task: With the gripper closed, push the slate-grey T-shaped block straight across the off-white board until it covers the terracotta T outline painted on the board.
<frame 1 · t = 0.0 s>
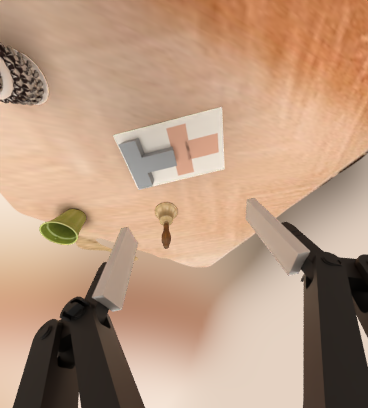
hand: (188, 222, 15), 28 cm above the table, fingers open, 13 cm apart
target board: (174, 153, 37), on the table
plant pot: (76, 215, 46), on the table
T block: (154, 159, 37), resting on target board
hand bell: (166, 211, 48), on the table
decorative candle: (24, 79, 27), on the table
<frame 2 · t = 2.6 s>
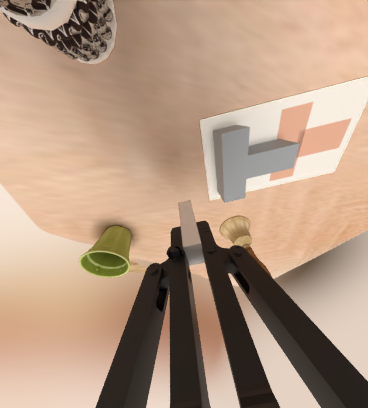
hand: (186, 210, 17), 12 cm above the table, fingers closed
target board: (276, 149, 25), on the table
plant pot: (119, 233, 34), on the table
T block: (246, 157, 25), resting on target board
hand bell: (234, 226, 37), on the table
decorative candle: (76, 11, 15), on the table
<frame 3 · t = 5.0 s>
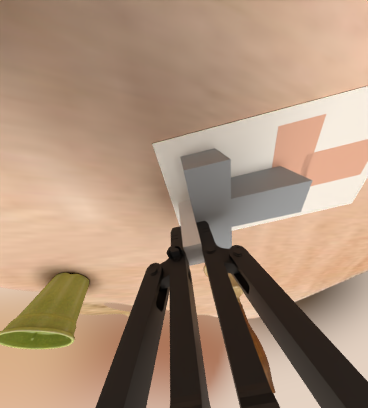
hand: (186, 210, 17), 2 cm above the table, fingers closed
target board: (272, 179, 18), on the table
plant pot: (73, 279, 26), on the table
T block: (233, 190, 18), resting on target board, touching gripper
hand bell: (222, 265, 29), on the table
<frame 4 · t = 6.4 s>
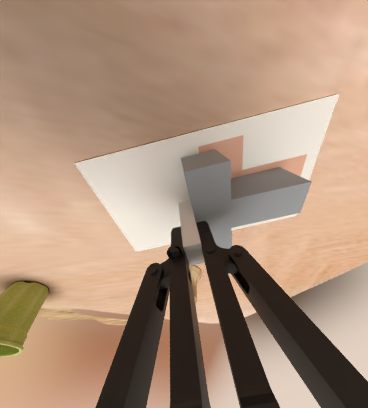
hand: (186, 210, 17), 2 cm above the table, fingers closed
target board: (208, 194, 18), on the table
plant pot: (32, 287, 27), on the table
T block: (232, 191, 18), resting on target board, touching gripper
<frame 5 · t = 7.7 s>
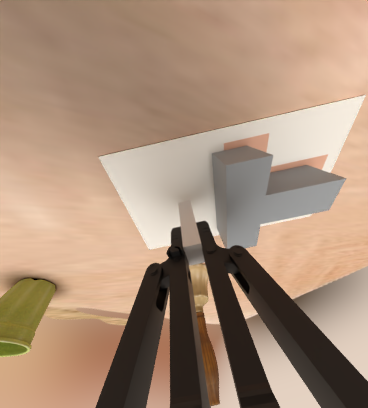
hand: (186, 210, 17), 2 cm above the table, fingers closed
target board: (227, 192, 18), on the table
plant pot: (39, 284, 26), on the table
T block: (257, 188, 18), resting on target board
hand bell: (192, 273, 29), on the table
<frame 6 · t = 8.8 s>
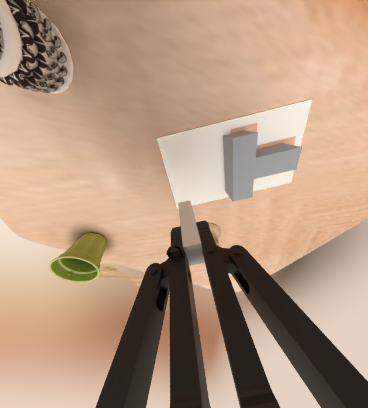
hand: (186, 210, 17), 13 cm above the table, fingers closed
target board: (232, 163, 28), on the table
plant pot: (94, 239, 36), on the table
T block: (252, 160, 28), resting on target board
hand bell: (206, 233, 38), on the table
decorative candle: (37, 53, 17), on the table
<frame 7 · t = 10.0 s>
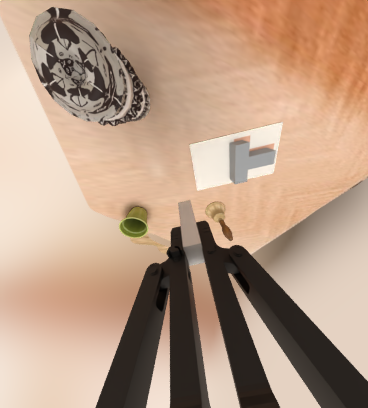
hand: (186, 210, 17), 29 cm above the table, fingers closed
target board: (235, 160, 43), on the table
plant pot: (138, 212, 52), on the table
T block: (247, 158, 43), resting on target board
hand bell: (215, 209, 54), on the table
decorative candle: (133, 100, 33), on the table
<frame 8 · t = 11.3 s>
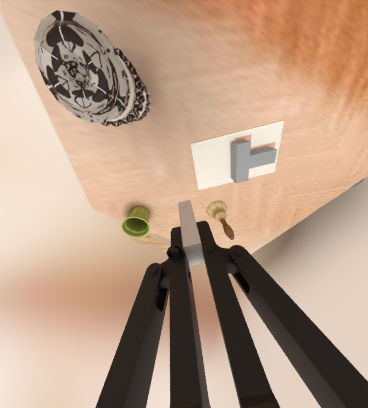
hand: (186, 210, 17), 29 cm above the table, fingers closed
target board: (236, 159, 44), on the table
plant pot: (140, 212, 52), on the table
T block: (248, 157, 43), resting on target board
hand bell: (216, 208, 55), on the table
decorative candle: (134, 100, 33), on the table
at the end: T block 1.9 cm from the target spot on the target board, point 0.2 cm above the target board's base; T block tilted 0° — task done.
